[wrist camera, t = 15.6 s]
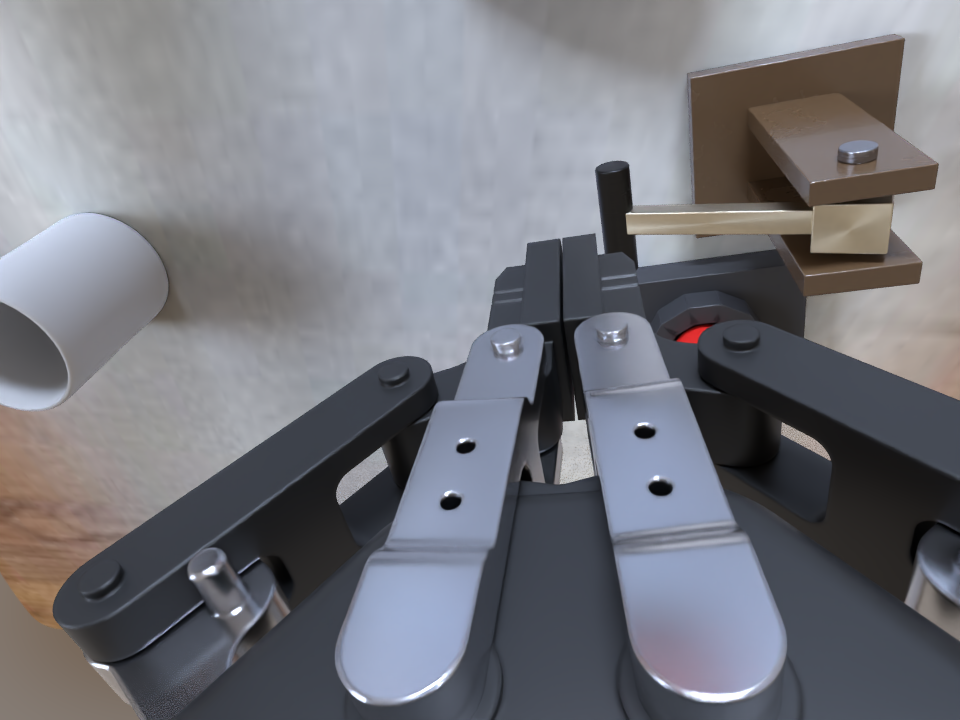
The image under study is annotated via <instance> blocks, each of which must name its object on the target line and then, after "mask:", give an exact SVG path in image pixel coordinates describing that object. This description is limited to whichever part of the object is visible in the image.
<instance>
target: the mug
mask: <svg viewBox="0 0 960 720" xmlns="http://www.w3.org/2000/svg"><path fill="white" fill-rule="evenodd" d="M168 286H169V285H168V277H167V274H166V270H165V268H164V265H163V263H162V261H161V259H160V257H159V255H158V254H157V253H156V251H155V250H154V248H153V247H152V246H151V245H150V244H149V242H148V241H147V240H146V239H145V238H144V237H143V236H141V235H140V234H139V233H138V232H137V231H135V230H134V229H132V228H131V227H129V226H128V225H126V224H124V223H123V222H121V221H118V220H116V219H114V218H111V217H108V216H105V215H100V214H95V213H81V214H76V215H71V216H69V217H66V218H64V219H62V220H60V221H59V222H57V223H56V224H54V225H52V226H51V227H49V228H48V229H46V230H45V231H43V232H42V233H40V234H39V235H37V236H36V237H34V238H32V239H31V240H29V241H28V242H26V243H24V244H23V245H21V246H19V247H18V248H16V249H14V250H13V251H11V252H9V253H8V254H6V255H4V256H3V257H1V258H0V404H1V405H3V406H6V407H10V408H13V409H18V410H23V411H44V410H49V409H52V408H55V407H57V406H59V405H61V404H62V403H64V402H65V401H66V400H68V399H69V398H70V397H71V396H72V395H73V394H74V393H75V392H76V391H77V390H78V389H79V388H80V387H81V386H83V385H84V384H85V383H86V382H87V381H88V380H89V379H90V378H91V377H92V376H93V375H94V374H95V373H96V372H97V371H98V370H99V369H100V368H101V367H102V366H103V365H104V364H105V363H106V362H107V361H108V360H110V359H111V358H112V357H113V356H114V355H115V354H116V353H117V352H118V351H119V350H120V349H121V348H122V347H123V346H124V345H125V344H126V343H127V342H128V341H129V340H130V339H131V338H132V337H133V336H135V335H136V334H137V333H138V332H139V331H140V330H141V329H142V328H143V327H144V326H146V325H147V324H148V323H149V322H150V321H151V320H152V319H153V318H154V317H155V316H156V315H157V314H158V313H159V312H160V311H161V310H162V308H163V306H164V304H165V302H166V299H167V296H168Z"/></svg>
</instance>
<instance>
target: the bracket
mask: <svg viewBox="0 0 960 720" xmlns="http://www.w3.org/2000/svg"><path fill="white" fill-rule="evenodd" d="M904 42H905V38H903V37H900V36H898V35H896V34H892V35H887V36H881V37H876V38H871V39H866V40H860V41H855V42H850V43H844V44H839V45H834V46H829V47H823V48H818V49H813V50H807V51H802V52H797V53H792V54H786V55H781V56H776V57H770V58H765V59H760V60H755V61H749V62H744V63H739V64H734V65H728V66H723V67H718V68H712V69H707V70H702V71H697V72H691V73H688V74H687V80H688V106H689V132H690V158H691V183H692V204H729V203H774V202H806V204H807V205H808V206H809V207H812V206H819V205H826V204H833V203H840V202H847V201H854V200H861V199H868V198H875V197H882V196H889V195H896V194H903V193H910V192H917V191H925V190H932V189H935V184H936V177H937V171H938V165H939V164H938V163H937V162H935V161H934V160H933V159H931V158H930V157H928V156H927V155H926V154H924V153H923V152H921V151H920V150H919V149H917V148H916V147H915V146H913V145H912V144H910V143H909V142H908V141H906V140H905V139H903V138H902V137H901V136H899V135H898V134H896V133H895V132H894V123H895V115H896V107H897V99H898V91H899V82H900V74H901V66H902V58H903V50H904ZM717 235H724V234H695V236H696V238H702V237H710V236H717ZM768 235H769V237H770V239H771V241H772V242H773V244H774V246H775V247H776V249H777V251H778V253H779V254H780V256H781V258H782V260H783V261H784V263H785V265H786V267H787V268H788V270H789V272H790V274H791V275H792V277H793V279H794V281H795V282H796V284H797V286H798V287H799V289H800V291H801V293H802V294H803V296H805V297H806V296H814V295H823V294H831V293H840V292H849V291H857V290H866V289H875V288H883V287H892V286H901V285H909V284H918V283H919V282H920V275H921V269H922V263H923V262H922V261H921V260H920V259H919V258H918V257H917V256H916V255H915V254H914V253H913V252H912V251H911V249H910V248H909V247H908V246H907V245H906V244H905V243H904V242H903V241H902V240H901V239H900V238H899V237H898V236H897V235H896V234H895V233H894V232H893V231H892V230H890V237H889V245H888V253H887V254H824V253H811V252H810V246H811V234H768Z"/></svg>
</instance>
